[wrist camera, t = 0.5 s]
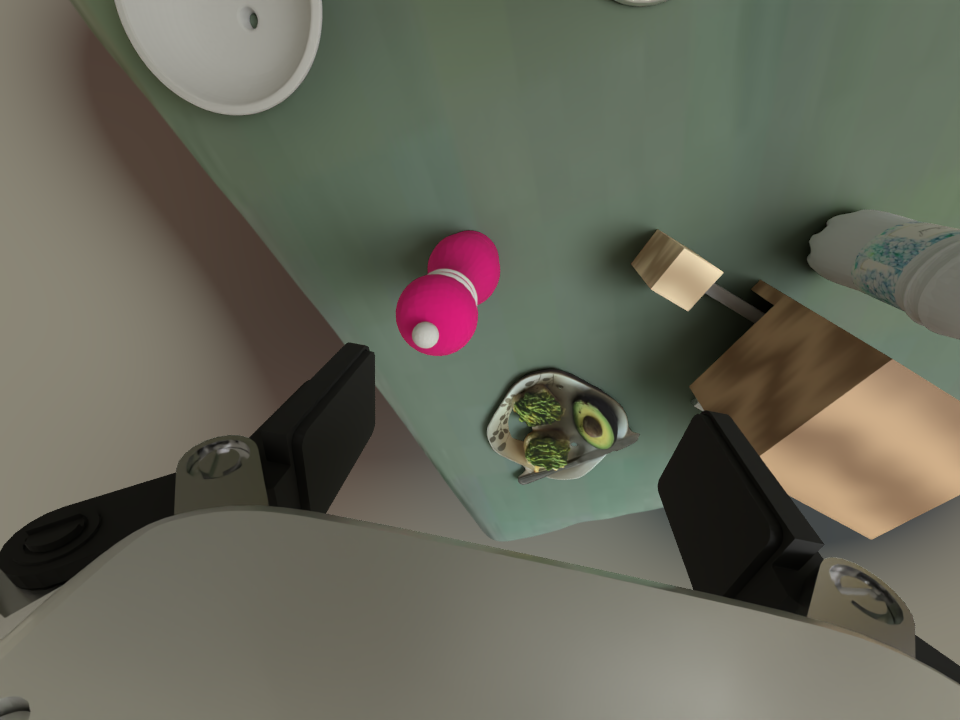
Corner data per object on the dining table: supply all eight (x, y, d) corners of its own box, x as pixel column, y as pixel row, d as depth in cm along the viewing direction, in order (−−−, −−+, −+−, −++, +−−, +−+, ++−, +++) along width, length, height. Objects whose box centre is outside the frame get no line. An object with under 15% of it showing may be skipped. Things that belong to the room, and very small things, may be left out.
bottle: (898, 209, 33) (1277, 275, 16) (852, 281, 37) (1126, 398, 20) (821, 199, 34) (1111, 253, 17) (782, 270, 37) (990, 377, 20)
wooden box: (760, 279, 38) (892, 359, 24) (862, 343, 40) (1042, 452, 26) (667, 373, 45) (727, 479, 30) (758, 425, 46) (855, 547, 32)
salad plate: (565, 496, 58) (567, 522, 54) (464, 446, 56) (459, 469, 52) (652, 414, 48) (662, 438, 44) (534, 349, 46) (534, 369, 42)
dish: (310, -136, 28) (269, -188, 24) (372, 94, 35) (349, 86, 30) (128, -57, 32) (64, -90, 27) (216, 136, 38) (176, 135, 34)
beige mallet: (657, 229, 37) (684, 248, 30) (834, 338, 40) (895, 378, 33) (630, 263, 39) (650, 289, 32) (800, 365, 42) (852, 408, 35)
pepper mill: (503, 291, 42) (478, 391, 25) (441, 290, 43) (377, 384, 26) (503, 225, 39) (476, 288, 22) (436, 225, 40) (358, 285, 22)
